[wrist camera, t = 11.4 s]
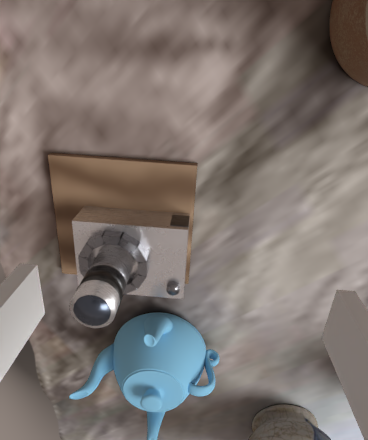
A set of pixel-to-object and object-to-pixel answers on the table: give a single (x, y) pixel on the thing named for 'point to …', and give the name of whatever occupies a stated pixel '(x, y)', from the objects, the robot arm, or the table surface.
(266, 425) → the vase
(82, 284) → the lens
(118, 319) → the table surface
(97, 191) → the board
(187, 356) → the teapot
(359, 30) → the planter
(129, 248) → the camera body
